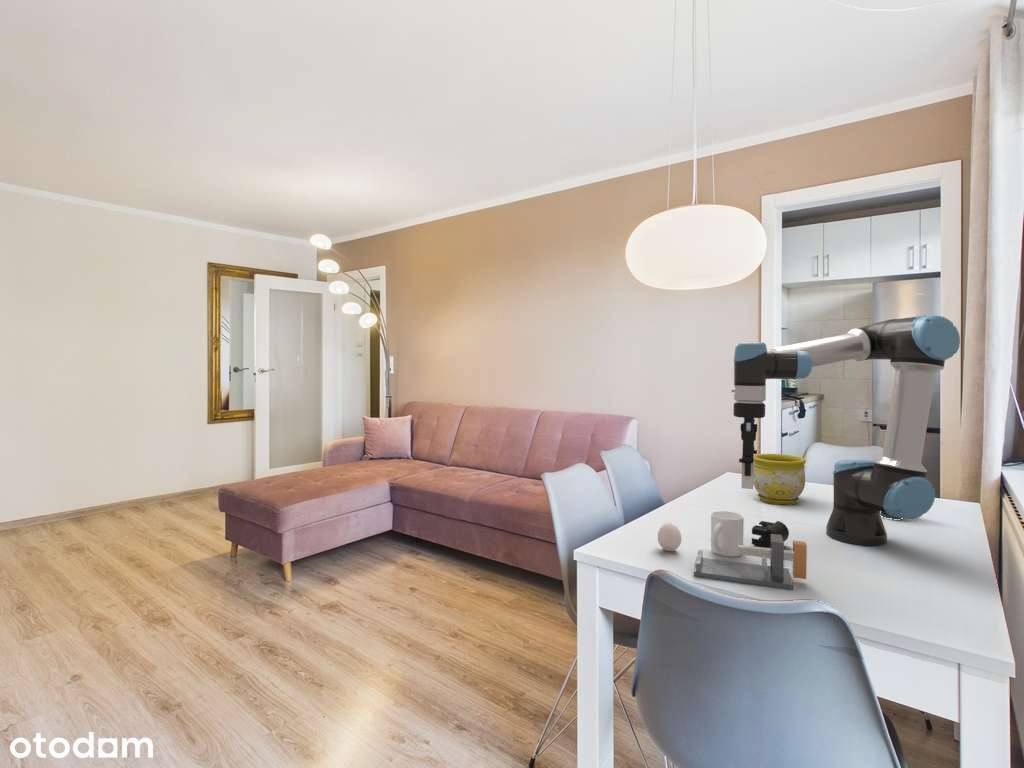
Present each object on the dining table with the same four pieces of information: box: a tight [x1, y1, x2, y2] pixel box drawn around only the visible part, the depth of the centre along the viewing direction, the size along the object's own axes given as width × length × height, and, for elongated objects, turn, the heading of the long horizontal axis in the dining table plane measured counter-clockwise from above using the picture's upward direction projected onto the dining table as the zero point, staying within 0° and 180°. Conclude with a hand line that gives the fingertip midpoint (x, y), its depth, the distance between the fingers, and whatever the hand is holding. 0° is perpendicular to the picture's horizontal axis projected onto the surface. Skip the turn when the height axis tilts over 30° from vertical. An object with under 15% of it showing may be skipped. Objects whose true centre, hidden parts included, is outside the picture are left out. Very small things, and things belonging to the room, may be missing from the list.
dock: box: [693, 534, 794, 591], centre depth 130 cm, size 22×11×10 cm, turn 67°
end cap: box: [751, 520, 790, 548], centre depth 150 cm, size 10×7×7 cm
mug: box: [710, 510, 745, 558], centre depth 145 cm, size 12×8×10 cm
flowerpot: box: [753, 453, 807, 505], centre depth 201 cm, size 18×18×16 cm
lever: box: [738, 540, 808, 580], centre depth 128 cm, size 15×3×8 cm, turn 67°
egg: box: [657, 521, 682, 552], centre depth 148 cm, size 6×6×8 cm
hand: (748, 483), depth 139 cm, fingers open, 13 cm apart
